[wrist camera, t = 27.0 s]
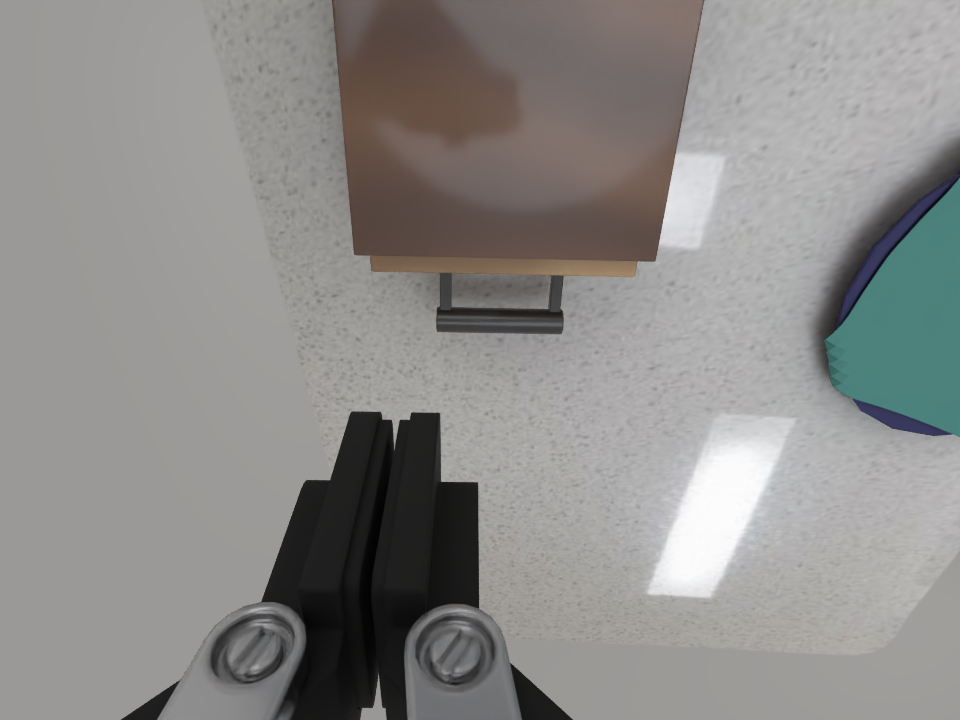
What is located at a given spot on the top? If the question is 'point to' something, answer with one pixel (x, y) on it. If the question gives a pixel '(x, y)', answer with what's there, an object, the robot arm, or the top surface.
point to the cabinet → (512, 124)
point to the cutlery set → (906, 322)
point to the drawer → (501, 317)
